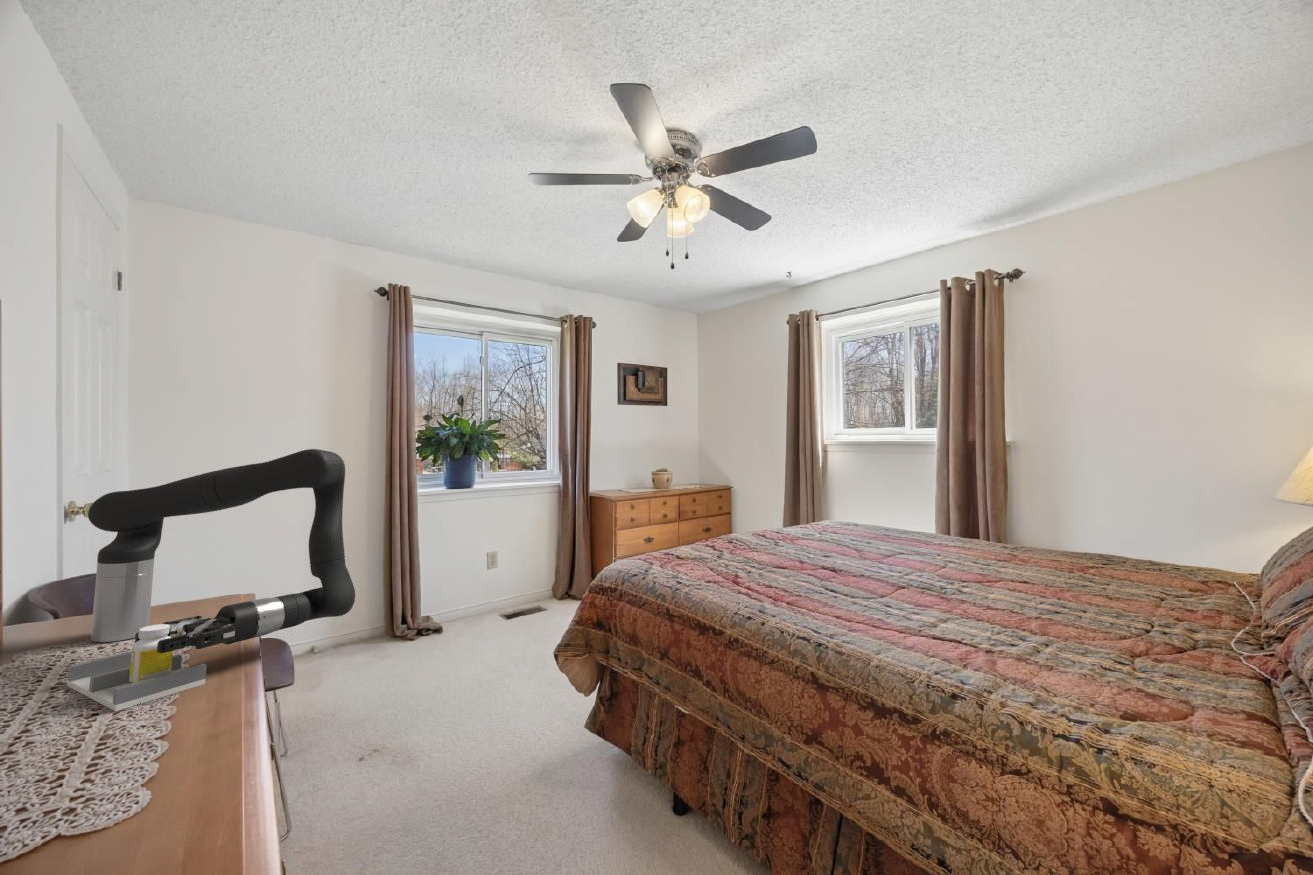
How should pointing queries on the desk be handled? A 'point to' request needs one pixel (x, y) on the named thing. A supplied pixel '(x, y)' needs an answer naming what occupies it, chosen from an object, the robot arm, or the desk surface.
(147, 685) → the divided tray
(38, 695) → the desk surface
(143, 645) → the supplement bottle
